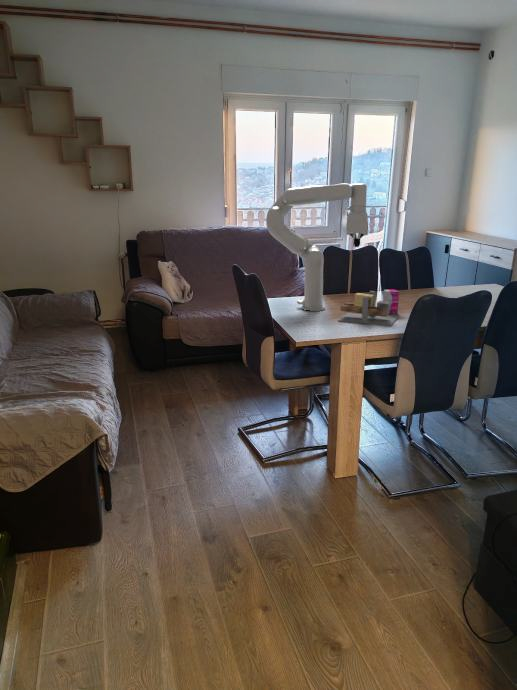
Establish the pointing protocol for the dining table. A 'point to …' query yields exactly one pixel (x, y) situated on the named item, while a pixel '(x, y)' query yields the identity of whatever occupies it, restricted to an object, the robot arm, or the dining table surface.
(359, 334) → the dining table surface
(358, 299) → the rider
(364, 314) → the stand
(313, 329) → the dining table surface
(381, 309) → the beam
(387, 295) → the supplement box
